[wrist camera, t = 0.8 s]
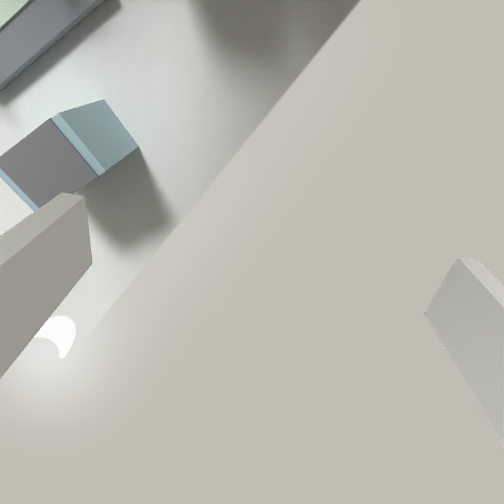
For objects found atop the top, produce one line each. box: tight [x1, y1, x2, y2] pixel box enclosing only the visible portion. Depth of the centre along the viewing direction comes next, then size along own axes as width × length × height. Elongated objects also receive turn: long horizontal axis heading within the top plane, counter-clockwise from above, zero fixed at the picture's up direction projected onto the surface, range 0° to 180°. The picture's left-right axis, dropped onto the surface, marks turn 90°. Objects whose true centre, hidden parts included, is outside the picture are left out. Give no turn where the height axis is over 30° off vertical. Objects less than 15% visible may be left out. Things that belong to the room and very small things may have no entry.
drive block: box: [0, 100, 139, 212], centre depth 30 cm, size 5×8×8 cm, turn 120°
